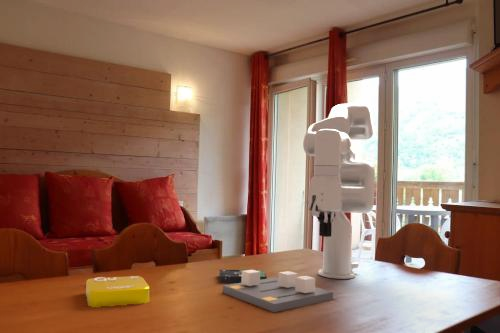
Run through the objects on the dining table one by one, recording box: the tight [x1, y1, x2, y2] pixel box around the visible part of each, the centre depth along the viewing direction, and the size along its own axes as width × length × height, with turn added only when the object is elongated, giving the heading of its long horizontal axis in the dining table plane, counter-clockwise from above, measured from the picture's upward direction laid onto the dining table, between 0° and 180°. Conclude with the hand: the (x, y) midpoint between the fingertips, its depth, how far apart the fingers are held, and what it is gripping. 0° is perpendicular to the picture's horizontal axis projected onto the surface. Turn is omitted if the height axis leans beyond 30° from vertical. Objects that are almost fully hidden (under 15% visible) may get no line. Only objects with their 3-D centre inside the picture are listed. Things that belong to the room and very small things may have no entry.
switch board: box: [222, 276, 334, 313], centre depth 125 cm, size 22×22×2 cm
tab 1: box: [241, 269, 260, 286], centre depth 128 cm, size 4×4×4 cm
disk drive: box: [219, 269, 268, 284], centre depth 144 cm, size 10×3×15 cm
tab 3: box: [295, 275, 316, 293], centre depth 122 cm, size 4×4×4 cm
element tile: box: [85, 275, 150, 308], centre depth 118 cm, size 15×15×5 cm
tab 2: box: [278, 270, 298, 288], centre depth 127 cm, size 4×4×4 cm
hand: (325, 236), depth 127 cm, fingers closed
